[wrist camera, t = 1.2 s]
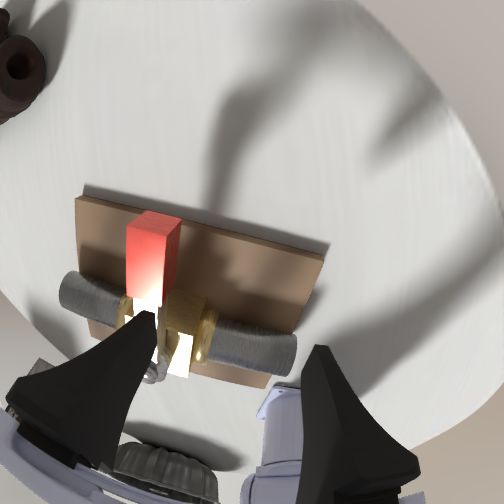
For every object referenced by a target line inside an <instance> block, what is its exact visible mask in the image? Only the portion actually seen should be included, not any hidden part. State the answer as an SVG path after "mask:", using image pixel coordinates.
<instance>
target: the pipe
mask: <svg viewBox="0 0 504 504" xmlns="http://www.w3.org/2000/svg"><path fill="white" fill-rule="evenodd" d="M9 20H10V15H9V13H8V11H6V10H5V9H2V8H0V125H1V124H3V123H5V122H6V121H7V120H9V118H12V117H15V116H16V115H18V114H19V113H21V112H22V111H24V110H26V109H27V108H28V107H29V106H30V105H31V103H32V102H33V101H34V100H35V99H36V97H37V96H38V94H39V92H40V89H41V87H42V84H43V80H44V74H45V65H44V57H43V55H42V54H41V52H40V51H39V49H38V48H37V47H36V45H35V44H34V43H33V42H32V41H31V40H30V39H28V38H27V37H24V36H21V35H15V36H11V37H9V38H8V39H6V36H5V34H6V31H7V28H8V23H9Z"/></svg>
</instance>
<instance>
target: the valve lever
mask: <svg viewBox="0 0 504 504" xmlns="http://www.w3.org/2000/svg"><path fill="white" fill-rule="evenodd" d="M181 226H182V219H181V218H177V217H173V216H169V215H165V214H161V213H157V212H153V211H148V210H146V211H145V212H144V213H143V214H141V215H140V216H139V217H137V218H136V219H135V220H133V221H132V222H131V223H130V224H128V225H127V231H126V285H127V296H129V297H132V298H133V299H134V316H135V315H136V314H138V313H139V312H140V311H141V310H143V309H144V310H148V311H152V312H155V313H156V328H157V341H158V344H157V347H156V350H155V352H154V355H153V358H152V361H151V363H150V365H149V367H148V369H147V371H146V373H145V375H144V377H143V379H142V382H144V383H147V384H154V383H155V382H161V381H163V380H164V379H165V377H166V375H167V372H168V369H169V367H170V364H171V362H172V359H173V355H172V353H171V351H170V350H169V349H168V348H167V347H166V346H165V338H166V316H167V299H168V294H169V292H170V291H171V289H172V287H173V286H174V284H175V275H176V266H177V257H178V249H179V241H180V233H181Z"/></svg>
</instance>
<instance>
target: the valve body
mask: <svg viewBox="0 0 504 504" xmlns="http://www.w3.org/2000/svg"><path fill="white" fill-rule="evenodd" d="M59 301H60V304H61V306H62V307H63V308H65V309H67V310H69V311H72V312H74V313H76V314H78V315H80V316H83V317H85V318H87V319H89V320H92V321H94V322H97V323H99V324H101V325H104V326H106V327H109V328H111V329H114V330H118V329H119V328H120V327H122V326H123V325H124V324H125V323H127V322H128V321H129V320H130V319H132V318H133V317H134V299H133V298H132V297H129V296H127V289H124V288H121V287H118V286H115V285H112V284H109V283H107V282H104V281H101V280H98V279H95V278H93V277H90V276H87V275H85V274H82V273H80V272H77V271H70V272H69V273H67V274H66V276H65V277H64V278H63V280H62V283H61V285H60V289H59ZM206 302H207V297H204V296H200V295H197V294H193V293H190V292H186V291H183V290H179V289H176V288H172V289H171V291H170V292H169V294H168V299H167V316H166V338H165V346H166V347H167V348H168V349H169V350H170V351H171V353H172V355H173V359H172V362H171V364H170V367H169V369H168V372H170V373H173V374H176V375H180V376H183V377H186V378H188V375H189V372H190V368H191V365H192V362H193V363H197V364H201V365H204V366H206V365H207V362H208V360H210V361H213V362H217V363H221V364H226V365H230V366H234V367H238V368H243V369H248V370H252V371H257V372H262V373H267V374H273V375H278V376H284V377H286V376H288V374H289V373H290V371H291V369H292V366H293V364H294V360H295V356H296V350H297V337H296V335H295V334H290V333H285V332H280V331H275V330H271V329H266V328H262V327H258V326H253V325H249V324H245V323H241V322H237V321H233V320H229V319H225V318H221V317H219V313H220V311H219V310H215V309H211V308H207V307H206Z"/></svg>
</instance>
